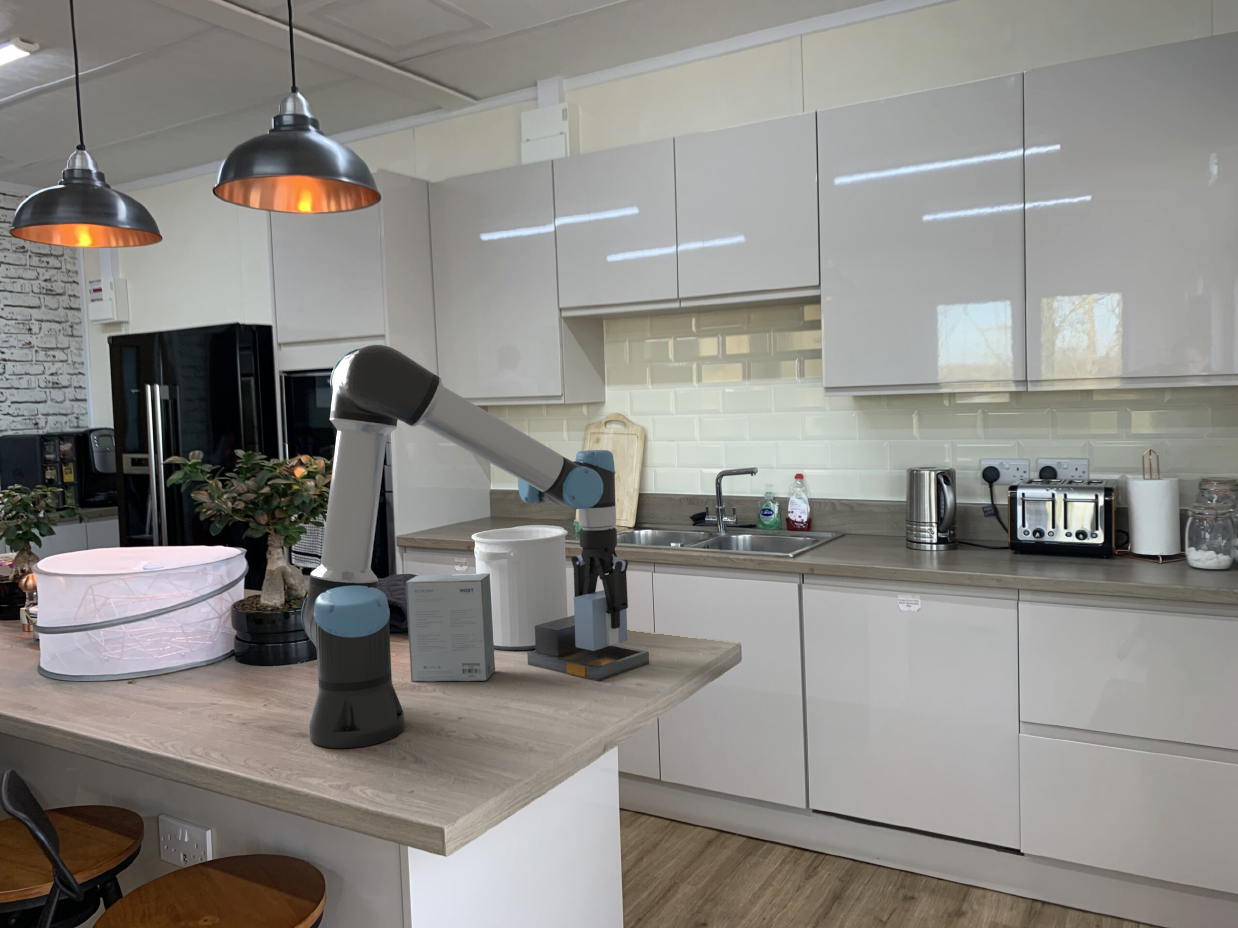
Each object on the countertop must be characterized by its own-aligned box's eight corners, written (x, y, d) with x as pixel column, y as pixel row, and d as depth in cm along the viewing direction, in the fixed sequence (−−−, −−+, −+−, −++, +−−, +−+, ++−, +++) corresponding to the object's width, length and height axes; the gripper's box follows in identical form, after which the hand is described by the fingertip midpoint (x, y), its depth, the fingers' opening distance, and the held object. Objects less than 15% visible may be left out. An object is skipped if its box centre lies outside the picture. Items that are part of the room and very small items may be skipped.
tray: (598, 681, 179) (596, 640, 178) (527, 664, 192) (525, 626, 192) (649, 663, 190) (647, 624, 190) (578, 648, 203) (577, 612, 203)
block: (593, 650, 183) (592, 600, 182) (575, 646, 186) (573, 597, 185) (627, 640, 190) (625, 591, 190) (609, 636, 194) (607, 588, 193)
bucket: (525, 659, 196) (521, 543, 195) (449, 647, 208) (445, 538, 207) (594, 632, 218) (591, 528, 216) (522, 623, 230) (518, 524, 228)
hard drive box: (496, 670, 189) (492, 572, 187) (487, 681, 181) (482, 580, 180) (421, 670, 190) (416, 573, 189) (409, 682, 182) (404, 581, 181)
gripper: (644, 527, 183) (648, 644, 185) (578, 522, 196) (583, 631, 197) (619, 532, 178) (623, 652, 179) (552, 526, 190) (557, 639, 191)
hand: (602, 641), depth 188 cm, fingers closed on block, 5 cm apart
